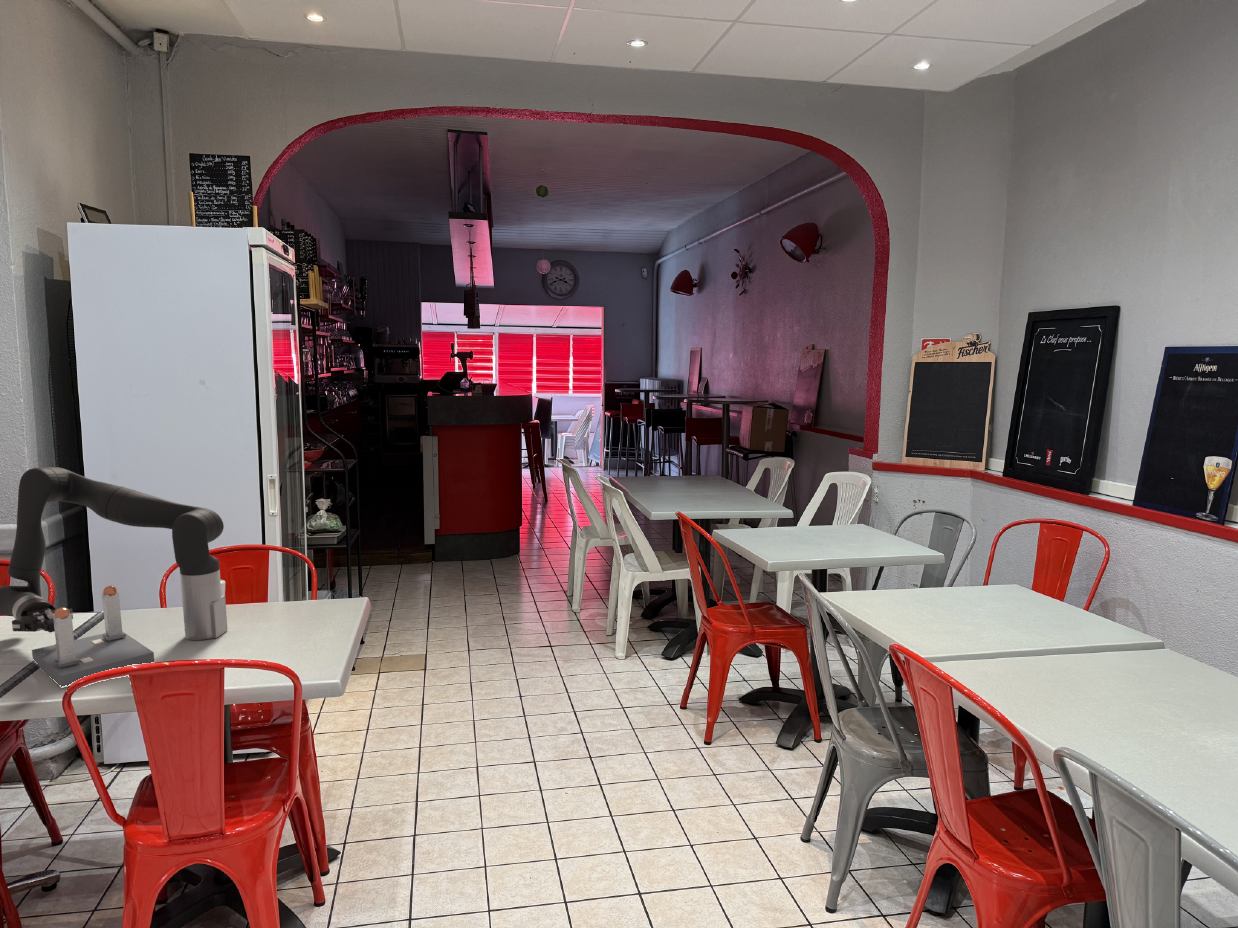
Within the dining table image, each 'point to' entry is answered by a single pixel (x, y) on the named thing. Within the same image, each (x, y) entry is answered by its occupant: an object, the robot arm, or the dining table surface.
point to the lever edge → (64, 638)
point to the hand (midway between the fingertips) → (53, 627)
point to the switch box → (93, 657)
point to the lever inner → (112, 614)
